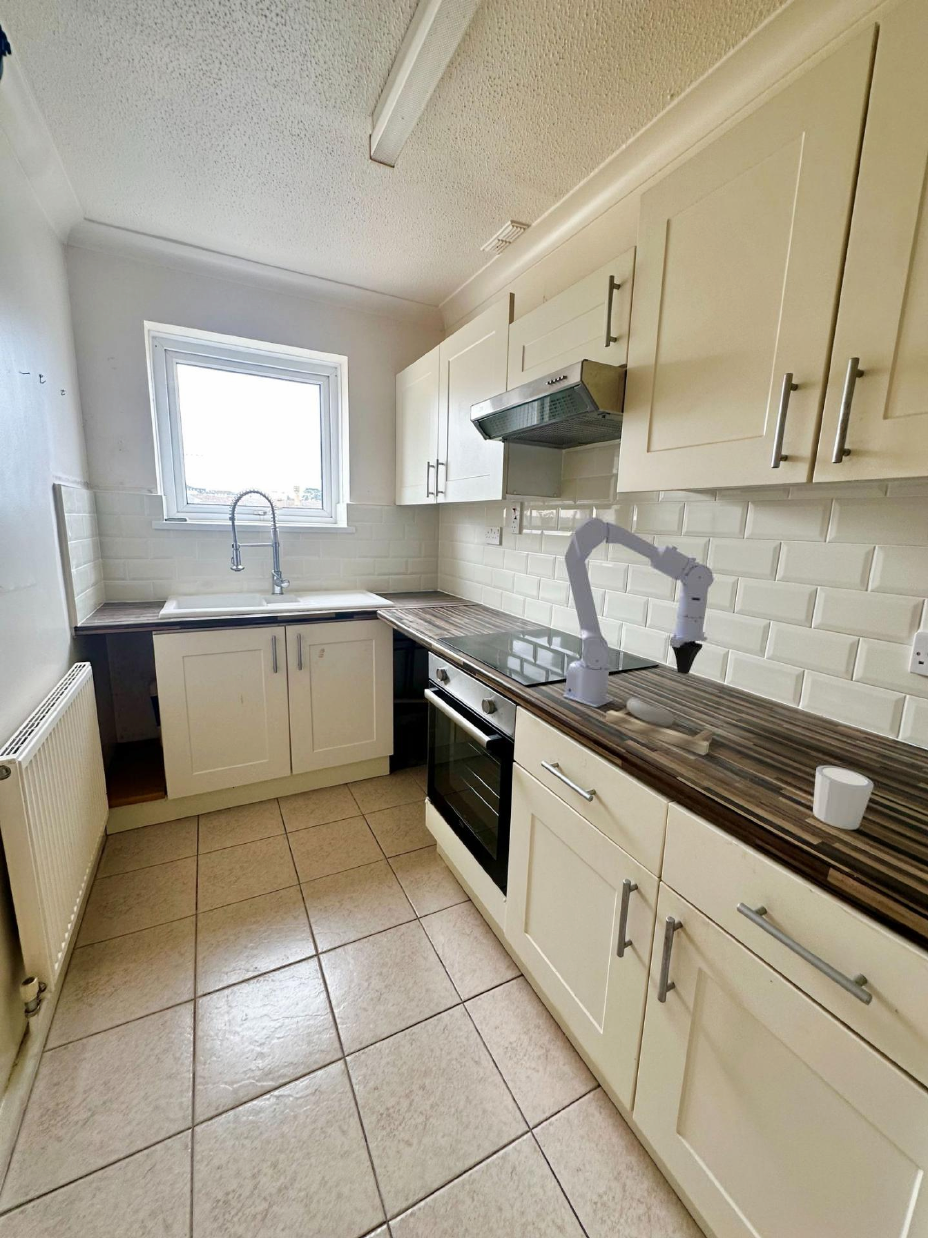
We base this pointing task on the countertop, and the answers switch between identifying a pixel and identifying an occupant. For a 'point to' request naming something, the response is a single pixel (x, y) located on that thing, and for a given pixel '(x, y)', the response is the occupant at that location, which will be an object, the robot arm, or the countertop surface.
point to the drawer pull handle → (661, 732)
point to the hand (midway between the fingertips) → (683, 672)
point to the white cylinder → (840, 796)
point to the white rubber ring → (649, 712)
